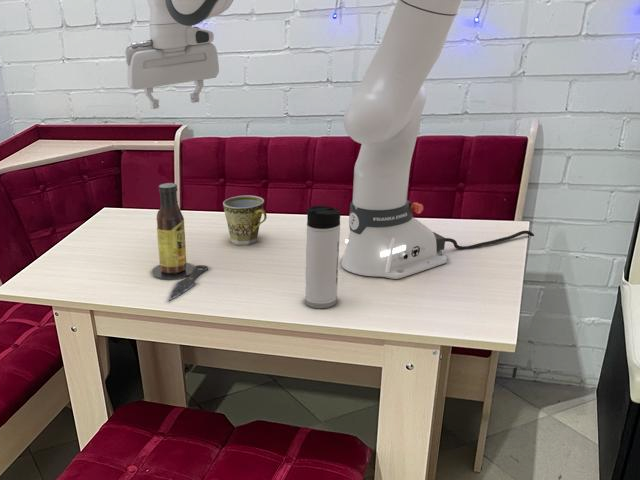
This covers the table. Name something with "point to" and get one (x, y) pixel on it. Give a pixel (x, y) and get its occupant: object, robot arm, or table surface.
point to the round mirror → (161, 275)
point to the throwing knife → (188, 281)
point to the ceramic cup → (244, 218)
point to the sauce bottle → (170, 231)
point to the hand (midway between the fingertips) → (175, 105)
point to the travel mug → (322, 256)
